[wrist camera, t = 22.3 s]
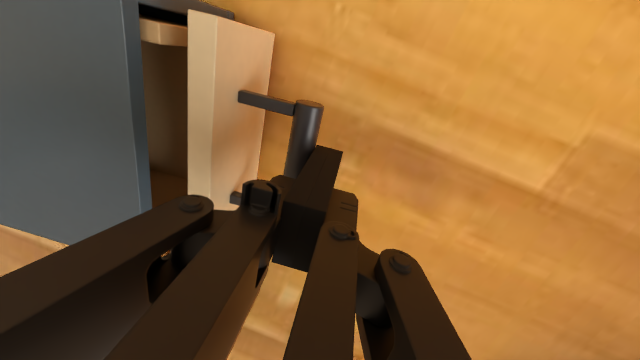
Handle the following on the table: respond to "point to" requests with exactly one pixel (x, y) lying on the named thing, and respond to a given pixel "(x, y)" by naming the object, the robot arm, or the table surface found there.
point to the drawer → (213, 107)
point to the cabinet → (76, 113)
